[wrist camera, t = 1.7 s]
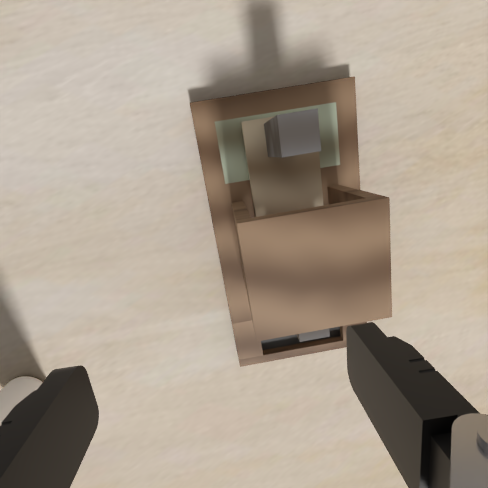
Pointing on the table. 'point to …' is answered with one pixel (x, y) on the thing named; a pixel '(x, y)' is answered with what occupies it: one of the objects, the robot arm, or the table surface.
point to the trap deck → (295, 229)
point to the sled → (285, 168)
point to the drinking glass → (16, 393)
